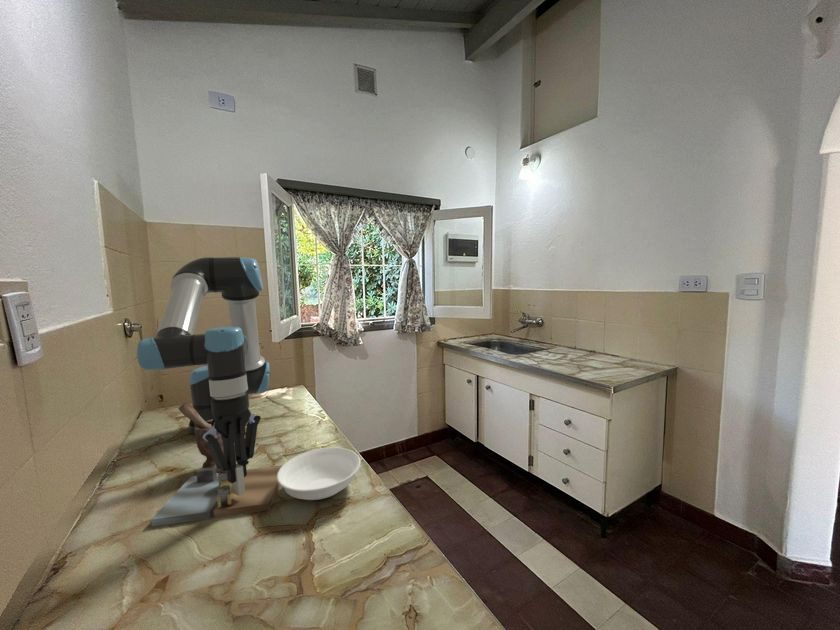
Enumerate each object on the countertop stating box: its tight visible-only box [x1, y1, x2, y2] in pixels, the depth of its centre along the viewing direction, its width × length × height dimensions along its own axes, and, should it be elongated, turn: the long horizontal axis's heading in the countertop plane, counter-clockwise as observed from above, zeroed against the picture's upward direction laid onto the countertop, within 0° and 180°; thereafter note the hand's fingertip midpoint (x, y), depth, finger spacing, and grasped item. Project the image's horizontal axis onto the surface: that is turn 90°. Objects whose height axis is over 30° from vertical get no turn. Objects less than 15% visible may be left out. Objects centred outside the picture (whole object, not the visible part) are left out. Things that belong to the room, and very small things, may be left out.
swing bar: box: [217, 470, 233, 508], centre depth 80 cm, size 12×4×4 cm, turn 25°
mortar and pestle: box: [178, 402, 224, 473], centre depth 94 cm, size 12×9×20 cm
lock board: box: [150, 464, 284, 527], centre depth 82 cm, size 17×24×5 cm
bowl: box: [277, 447, 362, 501], centre depth 82 cm, size 20×20×6 cm
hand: (238, 492), depth 78 cm, fingers closed
